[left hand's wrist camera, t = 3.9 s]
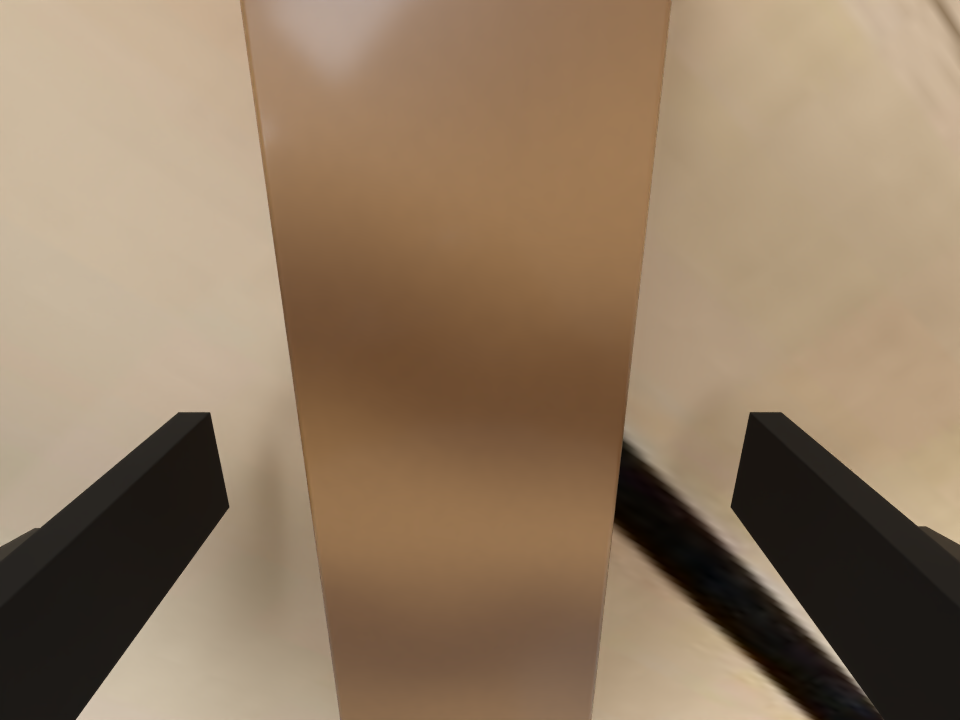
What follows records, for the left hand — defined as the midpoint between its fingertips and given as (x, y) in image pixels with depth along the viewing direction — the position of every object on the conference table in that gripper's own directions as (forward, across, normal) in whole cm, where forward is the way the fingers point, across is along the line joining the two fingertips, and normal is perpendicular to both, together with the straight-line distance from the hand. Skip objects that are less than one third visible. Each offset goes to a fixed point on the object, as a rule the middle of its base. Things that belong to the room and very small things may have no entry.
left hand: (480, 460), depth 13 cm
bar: (+4, 0, -23) cm, 23 cm away
